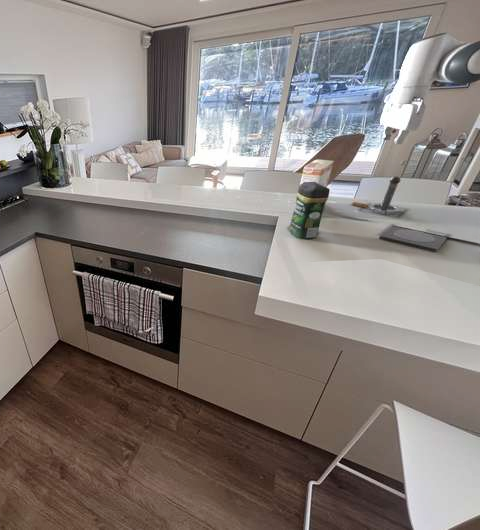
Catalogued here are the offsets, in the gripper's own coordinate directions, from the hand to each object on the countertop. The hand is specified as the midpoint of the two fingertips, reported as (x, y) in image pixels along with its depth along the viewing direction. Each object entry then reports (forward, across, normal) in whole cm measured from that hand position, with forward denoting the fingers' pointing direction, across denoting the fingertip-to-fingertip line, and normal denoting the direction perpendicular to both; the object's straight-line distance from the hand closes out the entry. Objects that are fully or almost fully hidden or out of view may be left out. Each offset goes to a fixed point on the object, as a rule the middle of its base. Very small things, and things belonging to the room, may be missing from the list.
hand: (391, 141), depth 101 cm
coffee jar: (+28, -23, +26) cm, 44 cm away
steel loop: (+26, +5, -5) cm, 27 cm away
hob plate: (+27, -21, -7) cm, 35 cm away
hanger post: (+27, +3, -7) cm, 28 cm away
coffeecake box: (+28, +4, +19) cm, 34 cm away
